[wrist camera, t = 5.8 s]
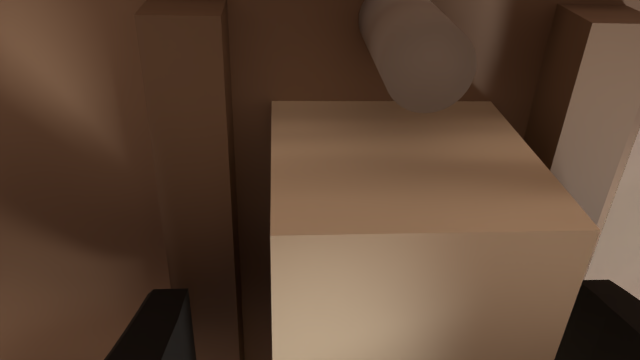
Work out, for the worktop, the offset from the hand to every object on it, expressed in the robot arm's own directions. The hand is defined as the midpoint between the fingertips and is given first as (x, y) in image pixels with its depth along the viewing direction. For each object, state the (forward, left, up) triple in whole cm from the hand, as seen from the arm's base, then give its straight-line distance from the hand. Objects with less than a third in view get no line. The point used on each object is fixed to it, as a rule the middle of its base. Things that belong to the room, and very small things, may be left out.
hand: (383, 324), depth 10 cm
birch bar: (0, 0, -2) cm, 2 cm away
